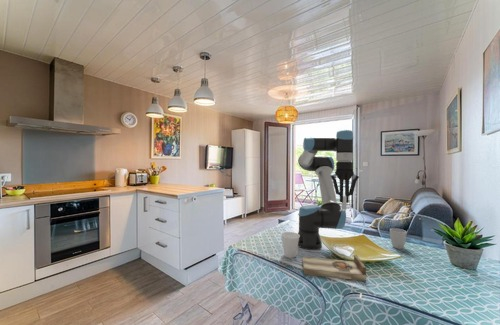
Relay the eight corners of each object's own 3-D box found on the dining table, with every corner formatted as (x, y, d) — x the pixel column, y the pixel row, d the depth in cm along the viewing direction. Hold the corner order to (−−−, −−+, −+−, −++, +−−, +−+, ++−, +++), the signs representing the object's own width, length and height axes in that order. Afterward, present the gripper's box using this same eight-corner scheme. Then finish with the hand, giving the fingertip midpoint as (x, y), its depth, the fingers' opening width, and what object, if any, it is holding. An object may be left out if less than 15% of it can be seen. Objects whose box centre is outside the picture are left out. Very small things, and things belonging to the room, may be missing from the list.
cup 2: (409, 248, 120) (409, 231, 121) (400, 250, 117) (400, 233, 118) (395, 243, 128) (395, 227, 128) (386, 245, 125) (386, 228, 125)
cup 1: (300, 253, 112) (300, 232, 113) (299, 261, 103) (299, 239, 103) (281, 250, 115) (281, 231, 115) (279, 258, 106) (279, 236, 106)
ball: (334, 263, 96) (341, 260, 95) (339, 270, 96) (346, 266, 95) (336, 268, 92) (344, 264, 92) (341, 274, 92) (348, 271, 92)
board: (302, 261, 102) (302, 250, 103) (356, 267, 98) (356, 255, 98) (304, 274, 91) (304, 261, 91) (365, 281, 86) (366, 267, 86)
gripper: (332, 161, 100) (331, 210, 100) (361, 161, 98) (360, 211, 98) (329, 161, 108) (328, 206, 107) (356, 161, 105) (355, 208, 105)
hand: (344, 209), depth 102 cm, fingers closed
